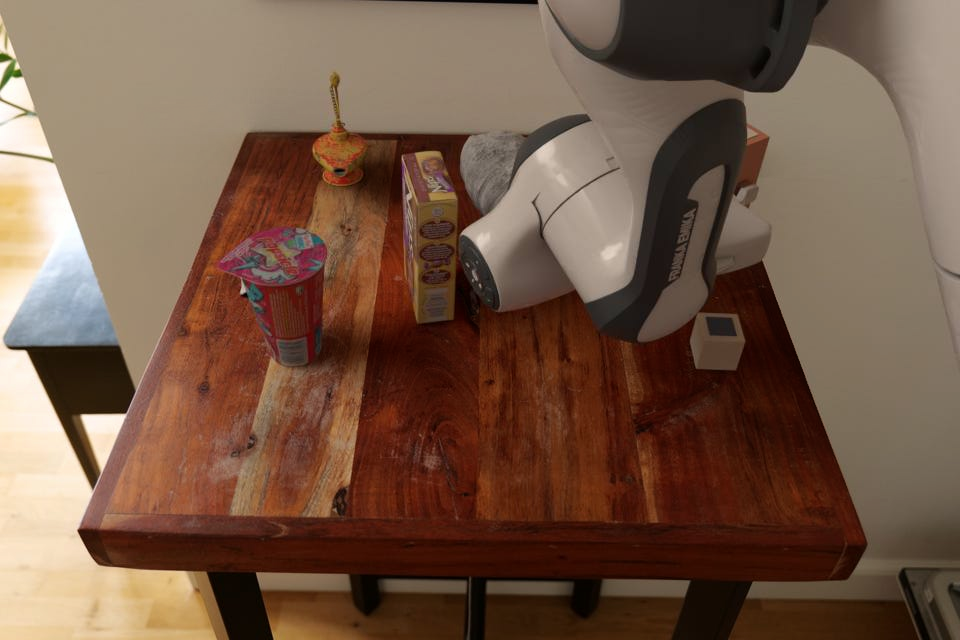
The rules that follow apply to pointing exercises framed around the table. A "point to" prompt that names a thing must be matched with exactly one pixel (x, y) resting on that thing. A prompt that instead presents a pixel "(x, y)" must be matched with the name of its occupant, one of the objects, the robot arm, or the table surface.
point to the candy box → (429, 235)
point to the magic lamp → (340, 148)
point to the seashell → (489, 166)
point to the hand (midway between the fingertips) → (729, 174)
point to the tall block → (753, 155)
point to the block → (717, 341)
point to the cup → (283, 289)
